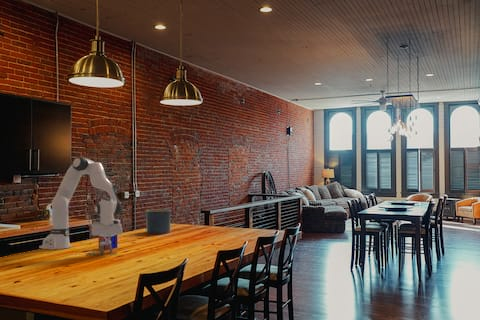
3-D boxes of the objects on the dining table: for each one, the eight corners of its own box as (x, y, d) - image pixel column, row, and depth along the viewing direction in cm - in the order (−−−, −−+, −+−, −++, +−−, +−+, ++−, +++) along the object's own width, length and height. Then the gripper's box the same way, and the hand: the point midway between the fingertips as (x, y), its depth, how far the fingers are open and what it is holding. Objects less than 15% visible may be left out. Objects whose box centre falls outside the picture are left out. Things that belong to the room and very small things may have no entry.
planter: (147, 231, 415) (147, 209, 415) (171, 230, 417) (171, 209, 417) (144, 234, 393) (144, 211, 393) (170, 234, 395) (170, 211, 395)
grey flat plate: (85, 256, 296) (85, 256, 296) (87, 253, 308) (87, 252, 308) (116, 255, 300) (116, 254, 300) (117, 252, 312) (117, 251, 312)
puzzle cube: (111, 250, 319) (111, 236, 319) (98, 250, 321) (98, 236, 321) (117, 248, 329) (117, 234, 329) (105, 247, 331) (105, 234, 331)
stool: (101, 254, 301) (99, 244, 301) (102, 252, 308) (100, 242, 307) (111, 252, 302) (110, 242, 302) (112, 250, 309) (110, 240, 309)
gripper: (90, 222, 300) (90, 243, 300) (122, 221, 304) (122, 241, 304) (91, 221, 306) (91, 241, 306) (122, 220, 310) (122, 240, 310)
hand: (107, 241), depth 305 cm, fingers closed
